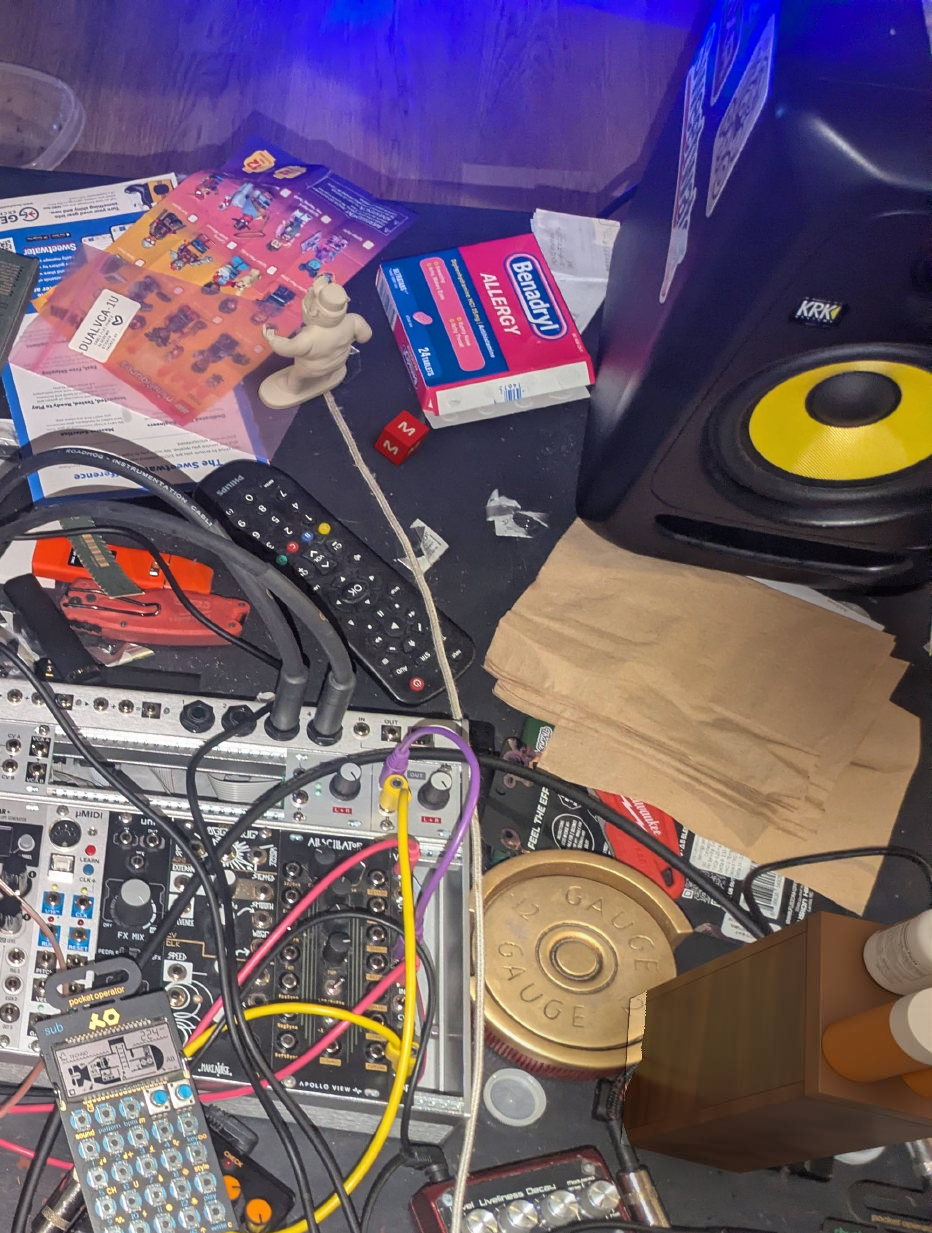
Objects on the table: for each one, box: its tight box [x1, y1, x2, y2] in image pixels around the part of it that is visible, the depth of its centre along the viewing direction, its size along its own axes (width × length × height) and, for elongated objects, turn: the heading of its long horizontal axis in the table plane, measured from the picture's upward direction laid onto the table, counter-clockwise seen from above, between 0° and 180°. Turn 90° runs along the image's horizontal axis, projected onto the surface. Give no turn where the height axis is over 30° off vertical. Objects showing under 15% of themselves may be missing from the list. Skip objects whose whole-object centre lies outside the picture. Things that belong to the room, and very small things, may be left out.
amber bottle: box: [822, 988, 932, 1083], centre depth 80 cm, size 4×4×8 cm
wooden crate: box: [621, 916, 932, 1174], centre depth 97 cm, size 9×12×24 cm
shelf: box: [804, 910, 932, 1126], centre depth 85 cm, size 9×12×2 cm
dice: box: [373, 409, 430, 467], centre depth 128 cm, size 3×3×3 cm
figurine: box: [257, 274, 373, 411], centre depth 128 cm, size 9×7×12 cm
